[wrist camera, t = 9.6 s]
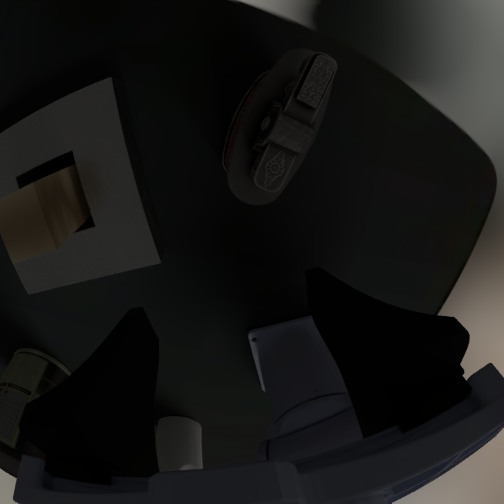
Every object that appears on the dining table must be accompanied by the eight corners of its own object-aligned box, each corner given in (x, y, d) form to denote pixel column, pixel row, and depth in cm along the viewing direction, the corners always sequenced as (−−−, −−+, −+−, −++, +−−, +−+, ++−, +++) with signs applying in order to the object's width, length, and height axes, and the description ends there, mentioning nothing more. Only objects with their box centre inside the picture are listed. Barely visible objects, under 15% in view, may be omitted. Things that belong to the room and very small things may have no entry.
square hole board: (165, 247, 22) (161, 262, 20) (40, 279, 21) (28, 294, 19) (122, 81, 16) (111, 76, 14) (-7, 145, 15) (-24, 150, 13)
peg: (96, 210, 20) (56, 249, 13) (57, 224, 20) (13, 264, 13) (82, 161, 18) (33, 182, 12) (42, 178, 18) (-10, 204, 11)
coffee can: (90, 376, 27) (63, 484, 14) (74, 411, 30) (54, 496, 17) (15, 331, 23) (-36, 427, 11) (11, 375, 26) (-22, 455, 13)
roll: (216, 505, 22) (190, 513, 23) (209, 424, 33) (187, 439, 34) (166, 497, 20) (145, 504, 21) (168, 410, 31) (149, 426, 32)
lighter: (255, 183, 21) (292, 236, 12) (211, 166, 20) (212, 206, 11) (301, 84, 18) (373, 62, 9) (257, 64, 17) (299, 18, 8)
